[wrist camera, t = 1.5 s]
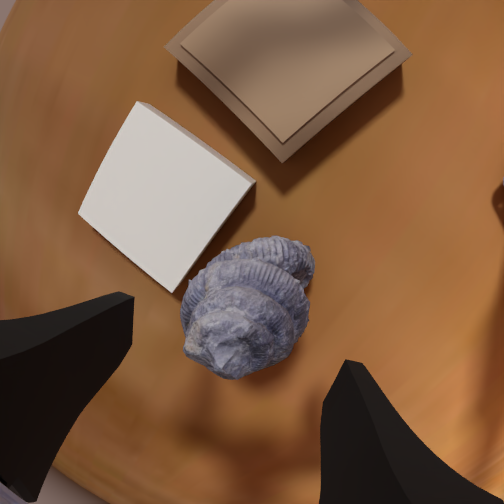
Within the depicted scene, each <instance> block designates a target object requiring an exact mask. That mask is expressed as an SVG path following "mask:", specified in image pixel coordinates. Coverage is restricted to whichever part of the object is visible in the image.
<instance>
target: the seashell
mask: <svg viewBox="0 0 504 504" xmlns="http://www.w3.org/2000/svg"><path fill="white" fill-rule="evenodd" d="M314 268H315V260H314V258H313V256H312V254H311V253H310V247H309V246H306V245H303V244H302V242H300V241H298V240H297V241H290V240H289V239H287V238H283V237H282V238H281V237H279V236H272V237H270V238H268V237H265V238H258V239H254V240H253V241H252V242H246V243H241V244H240V245H237V246H235V247H232V248H231V249H230V250H228V249H226V251H222V252H221V254H220V255H218V256H216V257H215V258H213V259H212V261H211V262H208V264H207V266H206V268H205V269H202V270H200V271H199V273H198V275H196V276H195V277H194V278H193V280H189V285H188V288H187V290H186V292H185V294H184V296H183V301H182V305H181V309H180V318H181V323H182V327H183V330H184V334H185V337H186V340H185V344H184V346H183V352H184V353H185V354H186V356H187V357H189V358H190V359H192V360H194V361H196V362H198V363H200V364H202V365H204V366H205V367H206V368H207V369H209V370H210V371H212V372H213V373H215V374H216V375H218V376H220V377H222V378H223V379H230V380H234V379H237V380H238V379H240V378H241V377H243V376H246V375H249V374H251V373H253V372H255V371H259V370H261V369H264V368H267V367H270V366H273V365H275V364H277V363H279V362H280V361H282V360H284V359H285V358H287V357H288V356H289V355H290V353H291V351H292V349H293V345H294V343H296V342H298V338H299V337H301V335H302V333H303V332H304V330H305V328H306V327H307V323H308V321H309V319H308V313H309V307H310V302H309V300H308V298H307V297H306V295H305V294H304V288H305V287H307V286H308V284H309V280H311V279H312V278H313V274H314Z"/></svg>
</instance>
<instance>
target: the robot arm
mask: <svg viewBox="0 0 504 504" xmlns="http://www.w3.org/2000/svg"><path fill="white" fill-rule="evenodd" d="M503 185H504V178H503ZM134 298H135V297H133V296H130V295H127V294H125V293H122V292H115V293H111V294H108V295H104V296H101V297H98V298H95V299H92V300H89V301H86V302H83V303H79V304H76V305H73V306H70V307H66V308H63V309H59V310H55V311H52V312H48V313H44V314H40V315H35V316H30V317H24V318H18V319H11V320H0V482H1V483H0V504H28V503H30V502H36V501H37V498H38V495H39V493H40V490H41V487H42V485H43V483H44V480H45V478H46V475H47V473H48V471H49V469H50V467H51V465H52V463H53V461H54V459H55V457H56V455H57V453H58V451H59V449H60V447H61V445H62V443H63V442H64V440H65V438H66V436H67V434H68V433H69V431H70V429H71V428H72V426H73V424H74V423H75V421H76V420H77V418H78V416H79V415H80V413H81V412H82V411H83V409H84V408H85V407H86V405H87V404H88V403H89V402H90V401H91V399H92V398H93V397H94V396H95V394H96V393H97V392H98V391H99V390H100V388H101V387H102V386H103V385H104V384H105V382H106V381H107V380H108V379H109V378H110V376H111V375H112V374H113V373H114V372H115V370H116V369H117V368H118V367H119V365H120V364H121V362H122V360H123V359H124V357H125V356H126V354H127V352H128V351H129V349H130V347H131V345H132V335H133V314H134ZM320 442H321V491H320V500H319V504H504V502H503V500H502V499H500V498H498V497H496V496H494V495H492V494H490V493H489V492H487V491H485V490H483V489H481V488H479V487H478V486H476V485H474V484H473V483H471V482H470V481H468V480H467V479H465V478H464V477H462V476H461V475H460V474H458V473H457V472H456V471H454V470H453V469H452V468H450V467H449V466H448V465H447V464H446V463H444V462H443V461H442V460H441V459H440V458H439V457H437V456H436V455H435V454H434V453H433V452H432V451H431V450H430V449H429V448H428V447H427V446H426V445H425V444H424V443H423V442H422V441H421V440H420V439H419V438H418V437H417V435H416V434H415V433H414V432H413V431H412V430H411V429H410V427H409V426H408V425H407V424H406V422H405V421H404V420H403V419H402V417H401V416H400V415H399V414H398V412H397V411H396V410H395V408H394V407H393V406H392V404H391V403H390V401H389V400H388V399H387V397H386V396H385V394H384V393H383V392H382V390H381V389H380V387H379V386H378V384H377V383H376V381H375V380H374V378H373V377H372V376H371V374H370V373H369V371H368V370H367V369H366V367H365V366H364V365H363V363H360V362H355V361H351V360H346V359H345V361H344V363H343V365H342V367H341V369H340V371H339V373H338V375H337V377H336V379H335V381H334V383H333V385H332V386H331V388H330V390H329V392H328V394H327V396H326V398H325V399H324V401H323V407H322V415H321V425H320ZM5 486H6V487H5ZM10 490H11V491H10ZM14 493H15V494H14ZM26 502H28V503H26Z"/></svg>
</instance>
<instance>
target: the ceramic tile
mask: <svg viewBox="0 0 504 504" xmlns="http://www.w3.org/2000/svg"><path fill="white" fill-rule="evenodd" d="M255 182H256V181H255V180H254V179H253V178H251V177H250V176H249V175H247V174H246V173H245V172H243V171H242V170H241V169H240V168H238V167H237V166H236V165H234V164H233V163H231V162H230V161H229V160H227V159H226V158H225V157H223V156H222V155H221V154H219V153H218V152H217V151H215V150H214V149H213V148H211V147H210V146H208V145H207V144H206V143H204V142H203V141H201V140H200V139H199V138H197V137H196V136H194V135H193V134H192V133H190V132H189V131H187V130H186V129H185V128H183V127H182V126H180V125H179V124H178V123H176V122H175V121H173V120H172V119H170V118H169V117H167V116H166V115H165V114H163V113H162V112H160V111H159V110H157V109H156V108H154V107H153V106H151V105H150V104H147V103H142V102H138V101H137V102H136V104H135V105H134V107H133V109H132V110H131V112H130V114H129V115H128V117H127V119H126V120H125V122H124V124H123V125H122V127H121V129H120V131H119V132H118V134H117V136H116V138H115V139H114V141H113V143H112V145H111V147H110V149H109V150H108V152H107V154H106V156H105V158H104V160H103V162H102V164H101V166H100V168H99V170H98V172H97V174H96V176H95V178H94V180H93V182H92V184H91V186H90V188H89V190H88V192H87V194H86V197H85V199H84V201H83V203H82V205H81V208H80V210H79V212H78V214H79V215H80V216H81V217H82V218H84V219H85V220H86V221H87V222H88V223H89V224H90V225H91V226H92V227H94V228H95V229H96V230H97V231H98V232H99V233H100V234H101V235H103V236H104V237H105V238H106V239H107V240H108V241H109V242H111V243H112V244H113V245H114V246H115V247H116V248H118V249H119V250H120V251H121V252H122V253H123V254H125V255H126V256H127V257H128V258H129V259H131V260H132V261H133V262H134V263H135V264H137V265H138V266H139V267H140V268H141V269H143V270H144V271H145V272H146V273H147V274H149V275H150V276H151V277H152V278H154V279H155V280H156V281H157V282H159V283H160V284H161V285H162V286H164V287H165V288H166V289H167V290H169V291H170V292H171V293H172V292H173V291H174V290H175V289H176V288H177V287H178V286H179V285H180V284H181V282H182V281H183V280H184V278H185V277H186V275H187V274H188V273H189V271H190V270H191V268H192V267H193V266H194V264H195V263H196V261H197V260H198V259H199V257H200V256H201V255H202V253H203V252H204V250H205V249H206V248H207V246H208V245H209V244H210V242H211V241H212V239H213V238H214V237H215V235H216V234H217V233H218V231H219V230H220V229H221V227H222V226H223V225H224V223H225V222H226V221H227V219H228V218H229V217H230V215H231V214H232V213H233V211H234V210H235V209H236V207H237V206H238V205H239V203H240V202H241V201H242V199H243V198H244V197H245V195H246V194H247V193H248V191H249V190H250V189H251V187H252V186H253V185H254V183H255Z"/></svg>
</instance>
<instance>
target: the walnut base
mask: <svg viewBox="0 0 504 504" xmlns="http://www.w3.org/2000/svg"><path fill="white" fill-rule="evenodd" d="M164 48H165V49H166V50H168V51H169V52H170V53H171V54H172V55H173V56H174V57H175V58H177V59H178V60H179V61H180V62H181V63H182V64H183V65H184V66H185V67H186V68H188V69H189V70H190V71H191V72H192V73H193V74H194V75H195V76H196V77H197V78H198V79H199V80H200V81H201V82H203V83H204V84H205V85H206V86H207V87H208V88H209V89H210V90H211V91H212V92H213V93H214V94H215V95H216V96H217V97H218V98H219V99H220V100H221V101H222V102H223V103H224V104H225V105H226V106H227V107H228V108H229V109H230V110H231V111H232V112H233V113H234V114H235V115H236V116H237V117H238V118H239V119H240V120H241V121H242V122H243V123H244V124H245V125H246V126H247V127H248V128H249V129H250V130H251V131H252V132H253V133H254V134H255V135H256V136H257V137H258V138H259V139H260V140H261V141H262V142H263V143H264V145H265V146H266V147H267V148H268V149H269V150H270V151H271V152H272V153H273V154H274V155H275V156H276V157H277V158H278V159H279V161H280V162H281V163H284V162H285V161H286V160H288V159H289V158H290V157H291V156H292V155H293V154H294V153H295V152H297V151H298V150H299V149H300V148H301V147H302V146H303V145H305V144H306V143H307V142H308V141H309V140H310V139H312V138H313V137H314V136H315V135H316V134H317V133H319V132H320V131H321V130H322V129H323V128H324V127H326V126H327V125H328V124H329V123H330V122H331V121H333V120H334V119H335V118H336V117H337V116H339V115H340V114H341V113H342V112H343V111H344V110H346V109H347V108H348V107H349V106H350V105H352V104H353V103H354V102H355V101H356V100H358V99H359V98H360V97H361V96H363V95H364V94H365V93H366V92H367V91H369V90H370V89H371V88H372V87H374V86H375V85H376V84H377V83H379V82H380V81H381V80H382V79H383V78H385V77H386V76H387V75H388V74H390V73H391V72H392V71H394V70H395V69H396V68H397V67H399V66H400V65H401V64H402V63H403V62H405V61H406V60H407V59H408V58H409V57H410V56H412V55H413V54H412V53H411V52H410V51H409V50H408V49H407V48H406V47H405V46H404V45H403V44H402V42H401V41H400V40H399V39H398V38H397V37H396V36H395V35H394V34H393V33H392V32H391V31H390V30H389V29H388V28H387V27H386V26H385V25H384V24H383V23H382V22H381V21H380V20H379V19H377V18H376V17H375V16H374V15H373V14H372V13H371V12H370V11H369V10H368V9H367V8H365V7H364V6H363V5H362V4H361V3H360V2H359V1H358V0H214V1H213V2H212V3H210V4H209V5H208V6H207V7H206V8H205V9H203V10H202V11H201V12H200V13H199V14H198V15H197V16H195V17H194V18H193V19H192V20H191V21H190V22H189V23H188V24H187V25H186V26H185V27H184V28H182V29H181V30H180V31H179V32H178V33H177V34H176V35H175V36H174V37H173V38H172V39H171V40H170V41H169V42H168V43H167V44H166V45H165V46H164Z"/></svg>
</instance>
